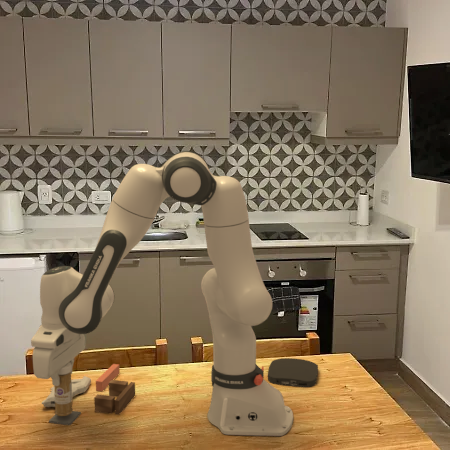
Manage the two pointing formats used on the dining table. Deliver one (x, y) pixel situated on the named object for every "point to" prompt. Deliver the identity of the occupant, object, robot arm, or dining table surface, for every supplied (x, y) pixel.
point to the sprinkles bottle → (64, 392)
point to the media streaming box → (293, 372)
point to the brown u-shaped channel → (115, 390)
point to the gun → (77, 388)
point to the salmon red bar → (107, 377)
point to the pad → (65, 418)
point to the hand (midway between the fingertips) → (62, 379)
